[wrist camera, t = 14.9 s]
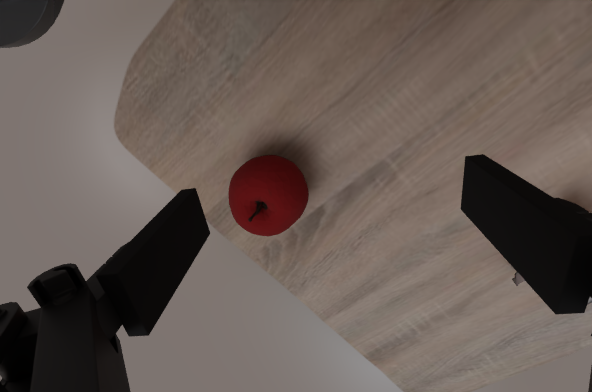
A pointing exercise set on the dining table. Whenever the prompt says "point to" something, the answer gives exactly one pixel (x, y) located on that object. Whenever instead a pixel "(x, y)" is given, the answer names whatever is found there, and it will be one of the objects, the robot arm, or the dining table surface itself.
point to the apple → (267, 195)
